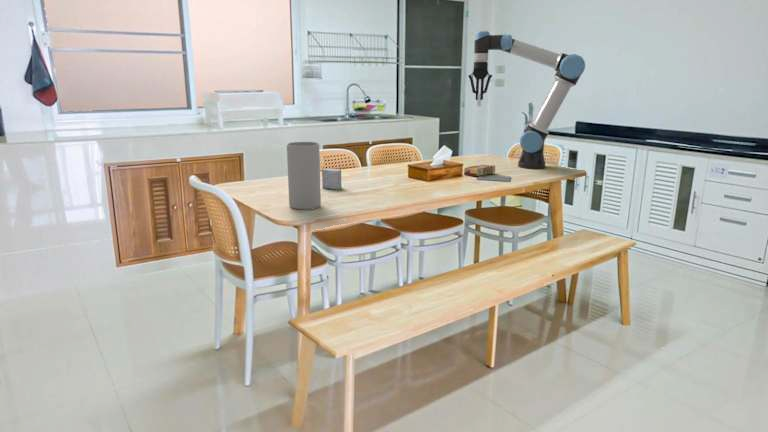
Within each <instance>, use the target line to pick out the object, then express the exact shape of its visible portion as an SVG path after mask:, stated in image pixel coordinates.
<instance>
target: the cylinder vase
mask: <svg viewBox="0 0 768 432" xmlns="http://www.w3.org/2000/svg"><path fill="white" fill-rule="evenodd" d="M286 159H287V161H286V162H287V181H288V182H287V183H288V204H289V207H290V208H292V209H293V208H295V209H294V210H299V209H308V210H313V209H312V208H315V209H317V208H319V207H321V205H322V204H321V203H322V200H321V196H322V195H321V165H320V164H321V163H320V160H321V157H320V143H319V142H313V141H295V142H294V141H293V142H288V143H286Z"/></svg>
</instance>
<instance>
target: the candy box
mask: <svg viewBox="0 0 768 432" xmlns="http://www.w3.org/2000/svg"><path fill="white" fill-rule="evenodd" d="M495 173H496V165H493V164H491V165H490V164H478V165H477V164H476V165H472V166H466V167H463V175H464V176H472V177H473V176H475V177H478V176H479V175H491V174H495Z"/></svg>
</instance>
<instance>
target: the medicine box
mask: <svg viewBox="0 0 768 432" xmlns="http://www.w3.org/2000/svg"><path fill="white" fill-rule="evenodd" d="M321 178H322V179H321V180H322V181H321V182H322V189H326V188H330V189H329V190H339V189H341V188H342V170H341V169H338V168H337V169H336V168H324V169H322V170H321Z"/></svg>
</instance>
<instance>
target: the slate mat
mask: <svg viewBox="0 0 768 432" xmlns="http://www.w3.org/2000/svg"><path fill="white" fill-rule="evenodd" d="M511 179H512V176H506V175H495V174H494V175H493V174H492V175H491V174H485V175H479V176H477V177H476V180H477V181H478V180H479V181H489V182H490V181H491V182H492V181H493V182H503V183H504V182H505V183H509V182H510V181H511Z"/></svg>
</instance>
